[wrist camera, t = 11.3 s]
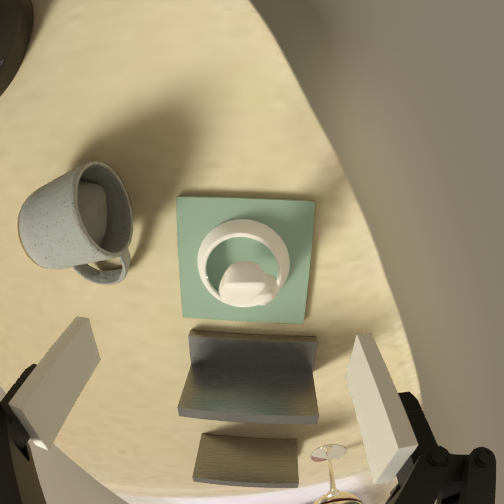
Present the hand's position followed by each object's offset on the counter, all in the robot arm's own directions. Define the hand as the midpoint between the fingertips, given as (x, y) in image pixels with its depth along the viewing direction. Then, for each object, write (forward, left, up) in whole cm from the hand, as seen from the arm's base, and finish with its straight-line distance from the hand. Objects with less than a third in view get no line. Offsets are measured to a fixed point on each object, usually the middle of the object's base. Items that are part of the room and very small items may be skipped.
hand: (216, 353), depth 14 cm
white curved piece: (0, 0, -13) cm, 13 cm away
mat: (+1, 0, -13) cm, 13 cm away
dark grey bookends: (+19, +1, -13) cm, 23 cm away
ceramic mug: (-3, -13, -14) cm, 19 cm away
